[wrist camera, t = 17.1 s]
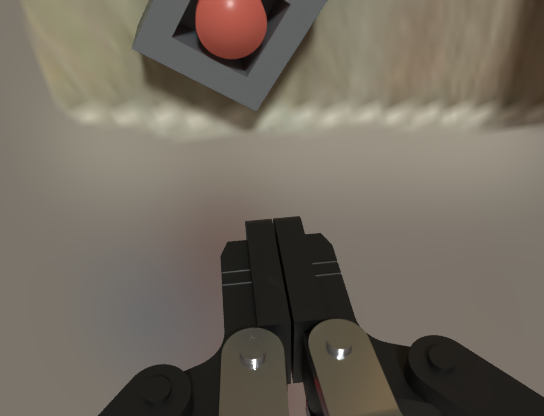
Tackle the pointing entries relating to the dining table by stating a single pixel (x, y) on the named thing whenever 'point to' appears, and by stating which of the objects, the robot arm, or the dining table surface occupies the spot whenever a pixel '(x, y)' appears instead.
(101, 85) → the dining table surface
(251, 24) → the button
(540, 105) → the dining table surface
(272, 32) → the button console
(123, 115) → the dining table surface
